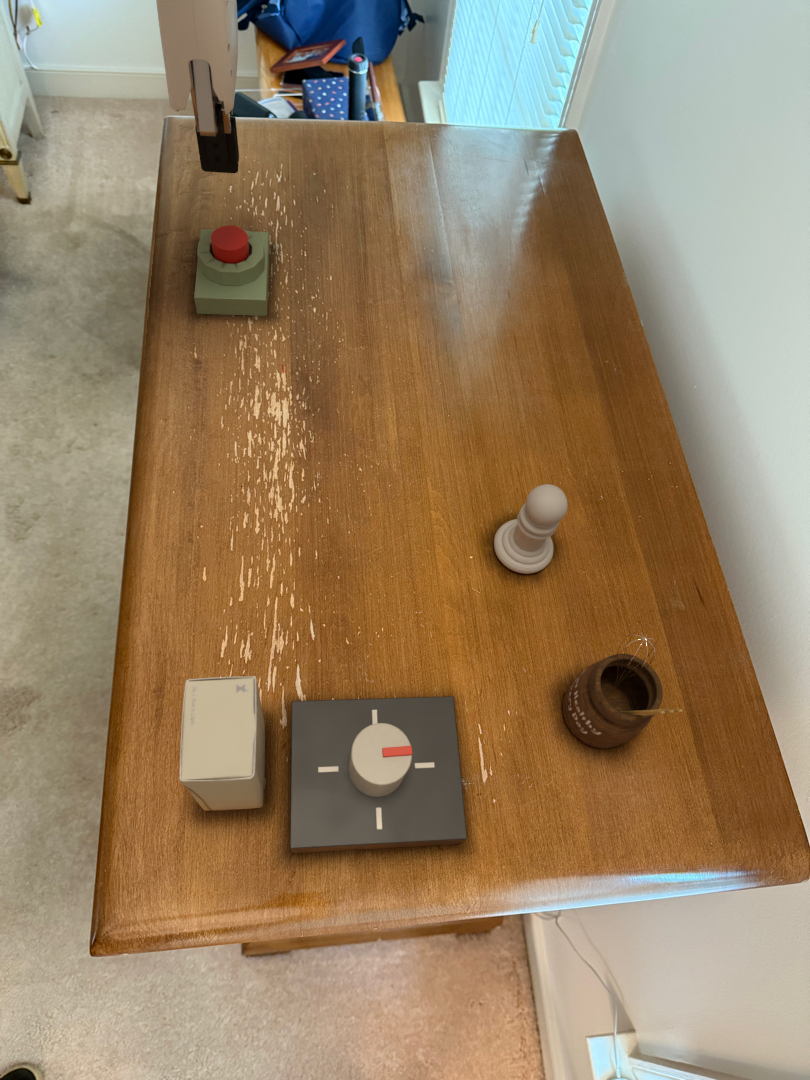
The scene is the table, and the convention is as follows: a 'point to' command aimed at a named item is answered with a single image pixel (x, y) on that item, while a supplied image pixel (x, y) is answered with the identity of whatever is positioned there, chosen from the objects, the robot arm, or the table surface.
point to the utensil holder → (613, 699)
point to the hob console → (353, 817)
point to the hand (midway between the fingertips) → (220, 165)
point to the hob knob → (379, 759)
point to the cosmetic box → (223, 743)
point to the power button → (230, 244)
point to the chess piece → (532, 531)
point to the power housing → (233, 279)
